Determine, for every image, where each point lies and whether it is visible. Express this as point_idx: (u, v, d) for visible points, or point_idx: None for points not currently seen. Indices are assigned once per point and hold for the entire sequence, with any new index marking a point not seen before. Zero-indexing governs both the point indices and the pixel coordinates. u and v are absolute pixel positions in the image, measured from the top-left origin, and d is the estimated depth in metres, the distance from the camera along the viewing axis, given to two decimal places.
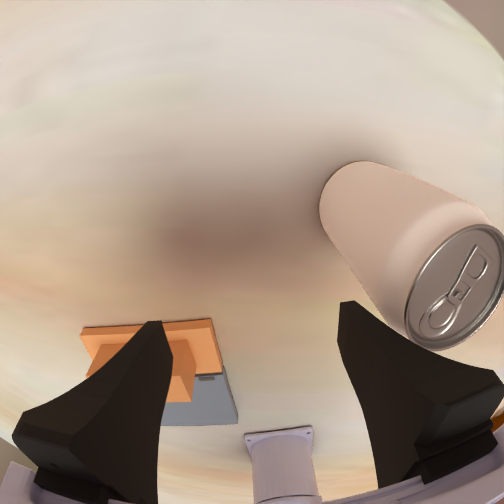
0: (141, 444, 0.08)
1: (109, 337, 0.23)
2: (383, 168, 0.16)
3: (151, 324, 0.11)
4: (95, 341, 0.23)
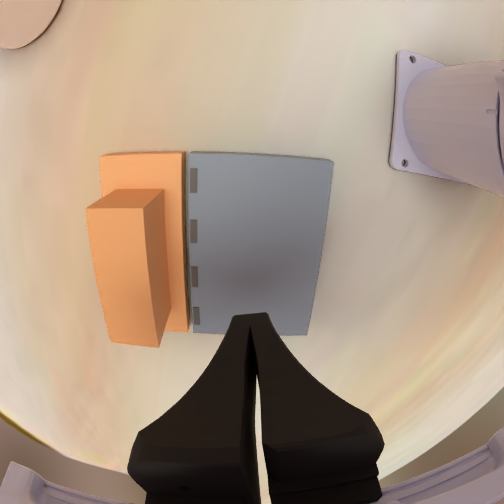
0: (253, 445, 0.08)
1: None
2: None
3: (242, 317, 0.11)
4: None
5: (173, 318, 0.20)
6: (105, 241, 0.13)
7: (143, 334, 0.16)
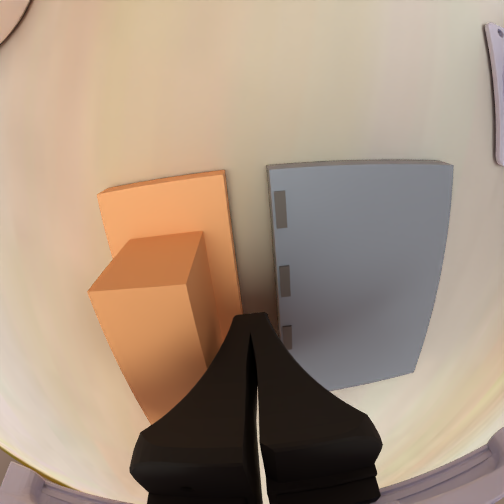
0: (255, 445, 0.08)
1: None
2: None
3: (243, 317, 0.11)
4: None
5: None
6: (131, 336, 0.08)
7: None
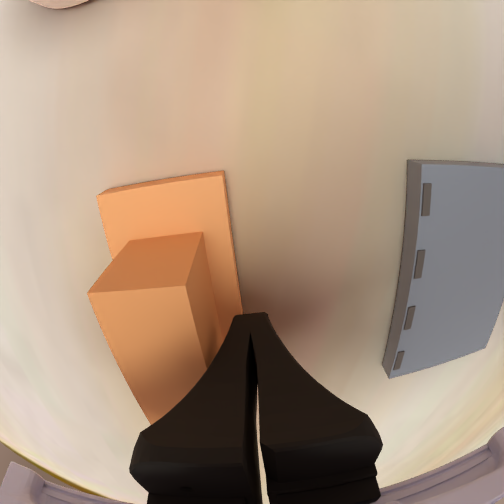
0: (255, 445, 0.08)
1: None
2: None
3: (243, 317, 0.11)
4: None
5: None
6: (130, 337, 0.08)
7: None
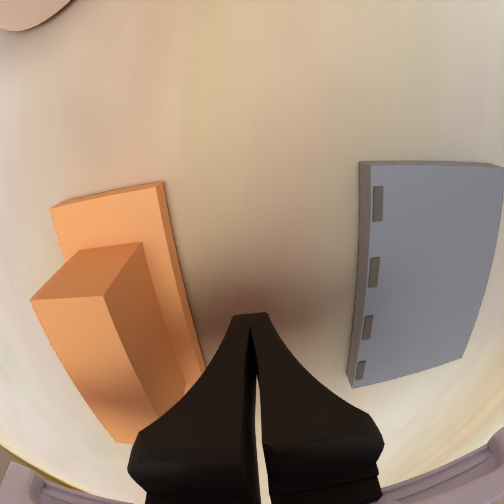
0: (253, 445, 0.08)
1: None
2: None
3: (242, 318, 0.11)
4: None
5: None
6: (68, 341, 0.08)
7: None
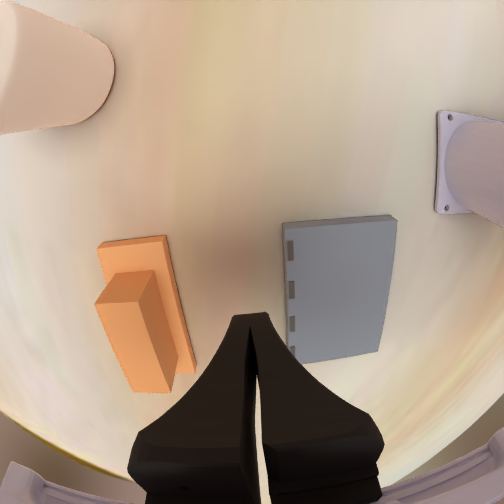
0: (253, 445, 0.08)
1: None
2: None
3: (242, 317, 0.11)
4: None
5: (181, 363, 0.24)
6: (115, 325, 0.17)
7: (157, 385, 0.19)
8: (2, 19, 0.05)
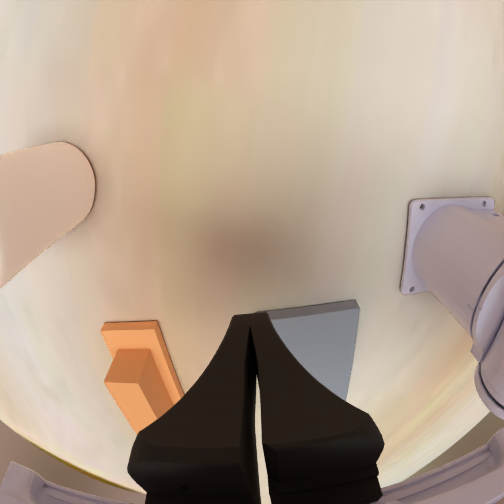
0: (253, 445, 0.08)
1: None
2: None
3: (242, 317, 0.11)
4: None
5: None
6: (121, 396, 0.20)
7: None
8: None
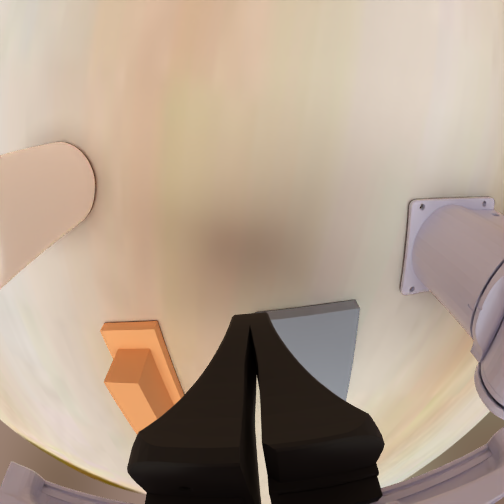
0: (253, 445, 0.08)
1: None
2: None
3: (242, 317, 0.11)
4: None
5: None
6: (121, 396, 0.20)
7: None
8: None
